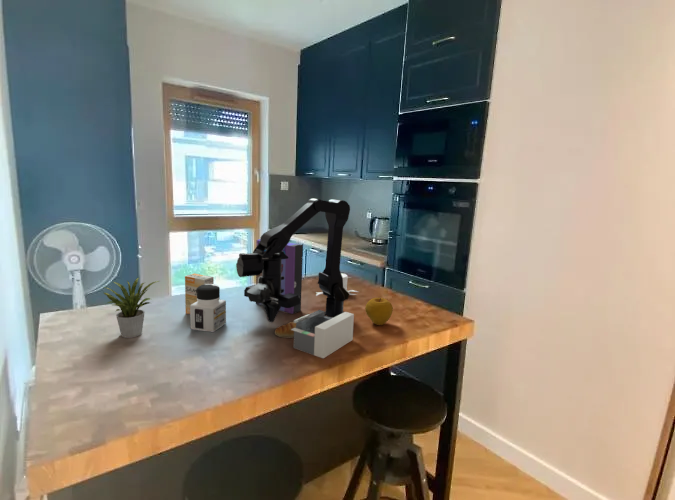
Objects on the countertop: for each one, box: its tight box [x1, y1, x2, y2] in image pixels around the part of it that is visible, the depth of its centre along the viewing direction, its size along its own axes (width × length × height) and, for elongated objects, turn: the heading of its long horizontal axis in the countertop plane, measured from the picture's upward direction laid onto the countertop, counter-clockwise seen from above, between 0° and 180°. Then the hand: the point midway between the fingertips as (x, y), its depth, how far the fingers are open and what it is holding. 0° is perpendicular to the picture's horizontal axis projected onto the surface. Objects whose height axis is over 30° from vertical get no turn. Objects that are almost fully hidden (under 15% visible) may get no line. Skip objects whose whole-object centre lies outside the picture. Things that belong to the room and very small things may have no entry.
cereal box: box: [255, 239, 304, 315], centre depth 133 cm, size 17×5×24 cm, turn 56°
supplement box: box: [184, 273, 215, 315], centre depth 124 cm, size 8×5×13 cm, turn 68°
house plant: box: [103, 277, 160, 339], centre depth 107 cm, size 14×14×16 cm
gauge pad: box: [293, 309, 325, 334], centre depth 108 cm, size 13×2×8 cm, turn 147°
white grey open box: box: [291, 311, 355, 359], centre depth 106 cm, size 15×11×8 cm
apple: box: [364, 297, 394, 326], centre depth 123 cm, size 9×9×9 cm
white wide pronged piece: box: [315, 272, 359, 297], centre depth 156 cm, size 20×19×8 cm
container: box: [189, 284, 227, 333], centre depth 114 cm, size 8×8×13 cm
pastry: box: [274, 321, 296, 339], centre depth 112 cm, size 9×7×4 cm
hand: (271, 321), depth 117 cm, fingers closed
